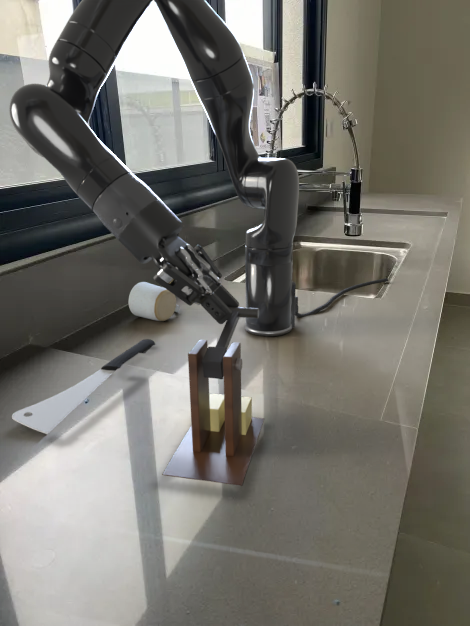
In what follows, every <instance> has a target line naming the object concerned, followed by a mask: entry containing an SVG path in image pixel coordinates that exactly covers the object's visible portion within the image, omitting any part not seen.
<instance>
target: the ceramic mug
mask: <svg viewBox="0 0 470 626" xmlns="http://www.w3.org/2000/svg"><path fill="white" fill-rule="evenodd" d="M176 297H177V296H175V295H174V294H173V293H171V292H170V291H168V290H167V289H166V288H164V287H163V286H161V285H160V286H159V285H156V284H153V283H150V282H146V281H140V282H138V283H136V284H135V285H134V286H133V287H132V289H131V290H130V292H129V296H128V307H129V311H130V312H131V313H132V315H134V316H136V317H141V318H143V319H147V320H148V319H149V320H153V321H157V322H164V321H165V322H166V321H168V320H170V318H172V317H173V315H174V313H179V312H180V309H181V308H180V307H181V306H180V305H179V304H177V298H176Z"/></svg>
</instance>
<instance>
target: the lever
mask: <svg viewBox="0 0 470 626" xmlns="http://www.w3.org/2000/svg"><path fill="white" fill-rule="evenodd" d="M228 308H229V309H230V310H231V311H232V315H231V317H230V318H229V319H228V320H226V321H225V323H224V327H223V329H222V331H221V333H220V336H219V338H218V340H217V343H216V345H215V346H208V349H207V351H206V353H205V355H204V358H203V360H202V365H203V373H204V377H205V378H209V379H217V380H224V370H223V356H224V355H225V353H226V352H227V350H228V348H229V346H230V343H231V340H232V338H233V335H234V332H235V330H236V327H237V325H238V322H239V320H240V318H243V319H244V318H245V319H246V318H259V308H246V307H243V306H242V307H241V306H238V307H228Z"/></svg>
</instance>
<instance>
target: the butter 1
mask: <svg viewBox="0 0 470 626" xmlns="http://www.w3.org/2000/svg"><path fill="white" fill-rule="evenodd" d="M209 400H210V427H211V431H215V432H219V431H220V429H221V427H222V425H223V423H224V421H225V409H224V394H220V393H211V392H209Z"/></svg>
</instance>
